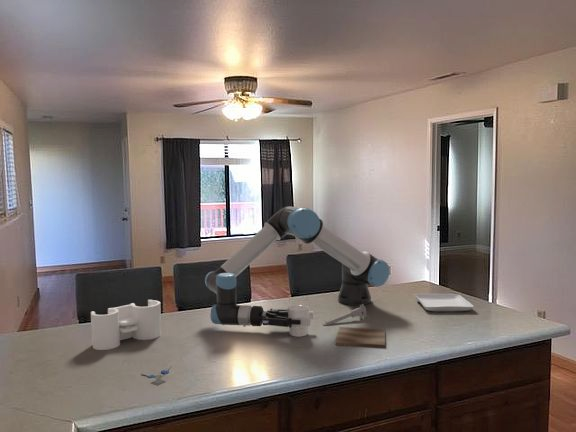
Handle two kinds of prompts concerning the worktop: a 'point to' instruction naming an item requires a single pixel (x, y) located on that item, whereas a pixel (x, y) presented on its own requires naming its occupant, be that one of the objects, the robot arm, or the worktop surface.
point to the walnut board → (361, 337)
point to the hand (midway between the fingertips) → (311, 318)
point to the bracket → (126, 324)
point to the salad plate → (443, 302)
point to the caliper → (349, 315)
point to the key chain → (158, 381)
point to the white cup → (299, 312)
